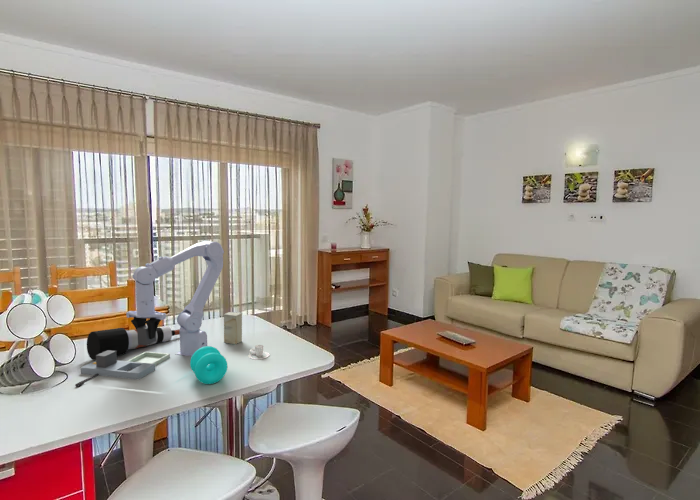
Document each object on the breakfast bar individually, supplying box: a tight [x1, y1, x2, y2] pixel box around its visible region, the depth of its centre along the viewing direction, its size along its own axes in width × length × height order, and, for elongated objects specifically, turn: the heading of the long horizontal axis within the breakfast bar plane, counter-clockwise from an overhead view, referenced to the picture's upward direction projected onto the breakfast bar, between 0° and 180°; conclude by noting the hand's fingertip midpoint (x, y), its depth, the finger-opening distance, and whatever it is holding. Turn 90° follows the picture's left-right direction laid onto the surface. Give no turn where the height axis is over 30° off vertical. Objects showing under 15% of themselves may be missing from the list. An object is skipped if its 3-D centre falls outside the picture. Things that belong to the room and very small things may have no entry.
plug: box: [137, 324, 156, 346], centre depth 143 cm, size 4×5×6 cm
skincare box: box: [223, 311, 243, 345], centre depth 166 cm, size 6×4×12 cm
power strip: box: [74, 350, 156, 388], centre depth 131 cm, size 22×16×6 cm
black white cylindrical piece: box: [86, 326, 180, 361], centre depth 158 cm, size 10×34×10 cm, turn 143°
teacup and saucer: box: [247, 344, 271, 360], centre depth 152 cm, size 9×8×4 cm
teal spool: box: [189, 345, 228, 385], centre depth 130 cm, size 10×10×10 cm
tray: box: [127, 351, 171, 367], centre depth 144 cm, size 10×10×2 cm
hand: (147, 337), depth 143 cm, fingers closed on plug, 3 cm apart
